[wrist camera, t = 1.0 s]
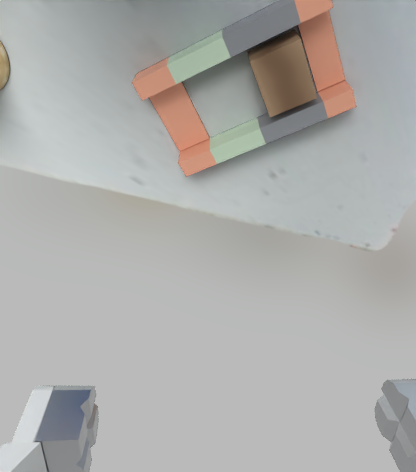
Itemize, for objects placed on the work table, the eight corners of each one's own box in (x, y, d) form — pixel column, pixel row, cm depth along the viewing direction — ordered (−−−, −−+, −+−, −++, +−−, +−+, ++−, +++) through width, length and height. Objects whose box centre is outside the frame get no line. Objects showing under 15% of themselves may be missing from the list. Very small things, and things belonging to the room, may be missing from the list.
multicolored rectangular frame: (320, -21, 36) (327, -17, 34) (348, 96, 43) (356, 106, 41) (136, 73, 42) (131, 82, 39) (187, 164, 49) (186, 176, 46)
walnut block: (293, 29, 39) (300, 38, 36) (309, 84, 42) (317, 98, 39) (247, 51, 40) (249, 62, 37) (266, 103, 44) (270, 117, 41)
